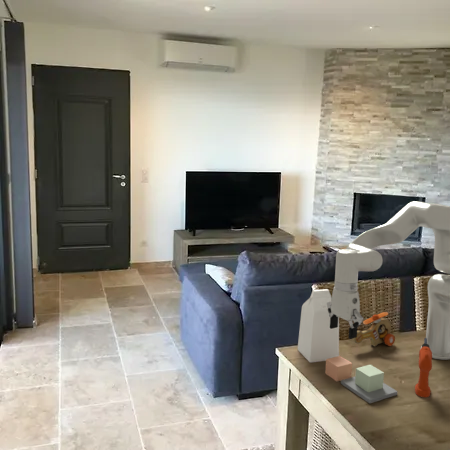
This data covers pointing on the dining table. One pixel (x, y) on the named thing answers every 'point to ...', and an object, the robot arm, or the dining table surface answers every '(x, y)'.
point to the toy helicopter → (377, 331)
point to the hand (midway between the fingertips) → (342, 332)
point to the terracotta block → (338, 368)
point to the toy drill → (424, 370)
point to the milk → (317, 329)
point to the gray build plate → (369, 396)
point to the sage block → (369, 378)
